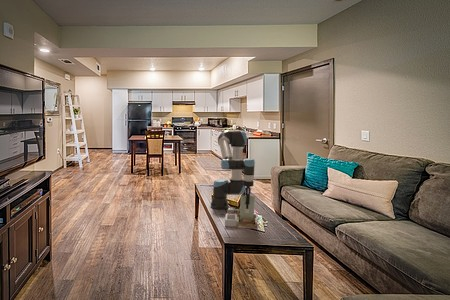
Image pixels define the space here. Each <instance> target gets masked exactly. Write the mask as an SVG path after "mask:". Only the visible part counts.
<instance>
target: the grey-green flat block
mask: <svg viewBox="0 0 450 300" xmlns="http://www.w3.org/2000/svg"><path fill="white" fill-rule="evenodd" d="M255 199H256V197H255V195H250V201H249V203H250V204H249V213H245V203H246V194H245V195H244V194H242V195H240V204H239V206H240V207H239V213H240V220H242V218H251V219H252V220H253V221H254V214H255V202H256V201H255Z"/></svg>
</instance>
